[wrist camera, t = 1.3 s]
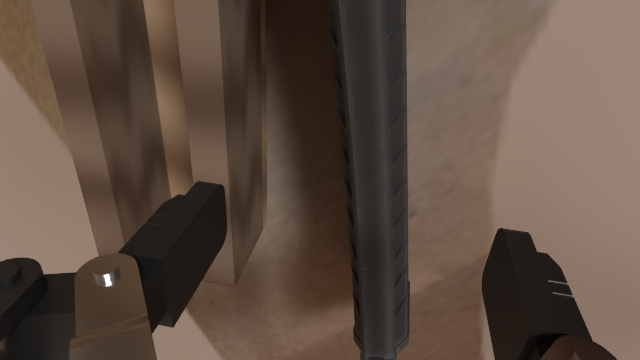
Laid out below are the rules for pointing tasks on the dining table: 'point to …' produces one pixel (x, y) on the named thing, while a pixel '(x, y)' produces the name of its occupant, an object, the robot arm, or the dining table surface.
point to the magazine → (374, 166)
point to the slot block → (163, 110)
